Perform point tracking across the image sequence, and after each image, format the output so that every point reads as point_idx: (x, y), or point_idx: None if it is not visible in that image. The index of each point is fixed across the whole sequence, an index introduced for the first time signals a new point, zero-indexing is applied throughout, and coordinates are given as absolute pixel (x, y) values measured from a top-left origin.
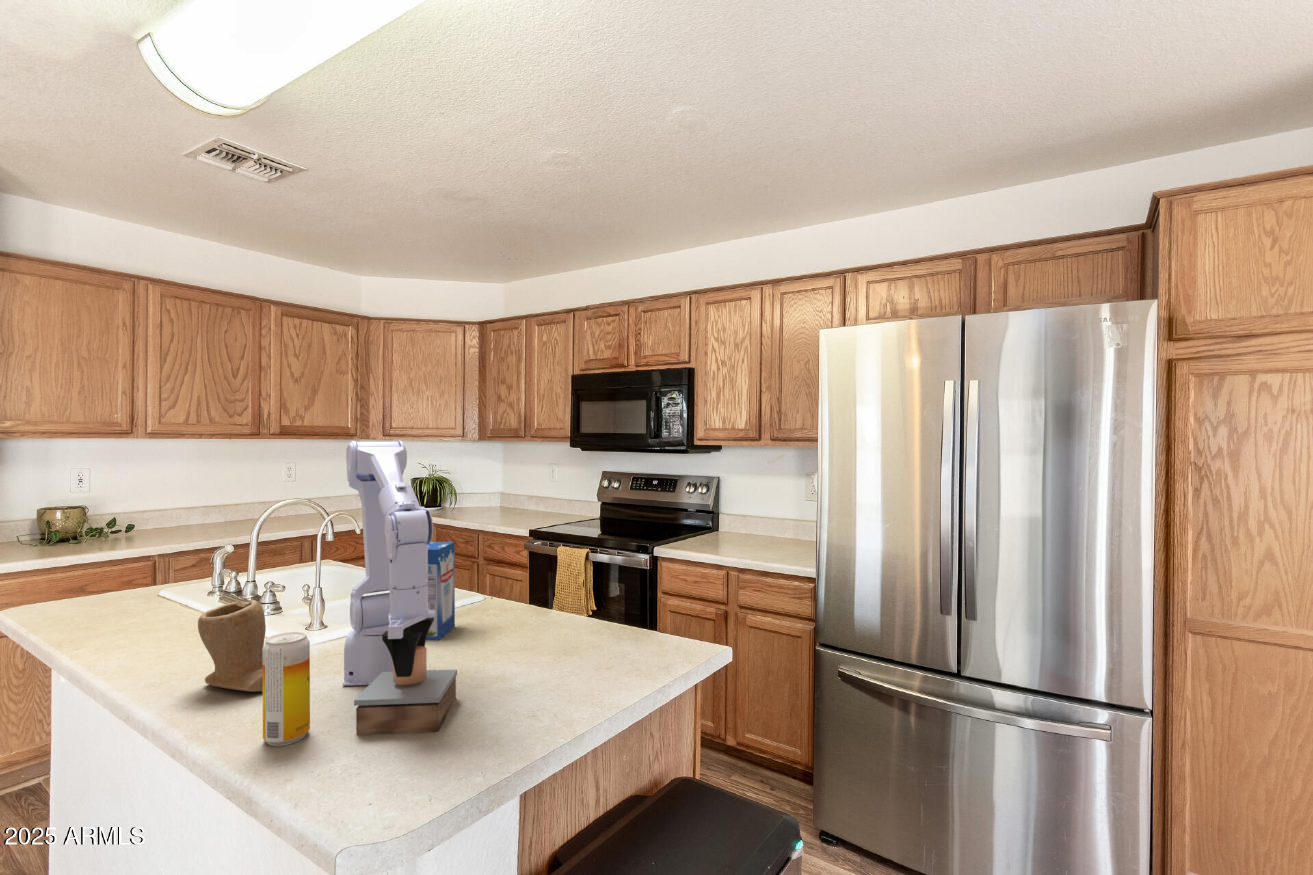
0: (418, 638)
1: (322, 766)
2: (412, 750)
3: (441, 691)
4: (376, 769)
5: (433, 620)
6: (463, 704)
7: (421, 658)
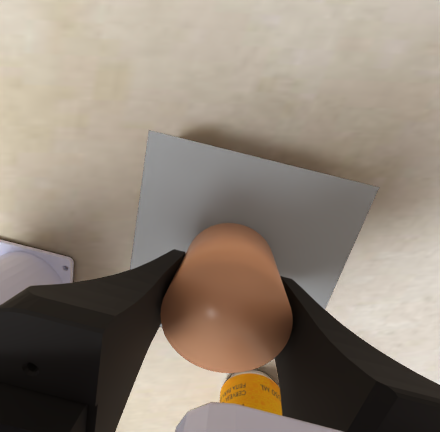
0: (415, 382)
1: (373, 343)
2: (390, 223)
3: (334, 179)
4: (430, 275)
5: (37, 292)
6: (210, 121)
7: (272, 270)
